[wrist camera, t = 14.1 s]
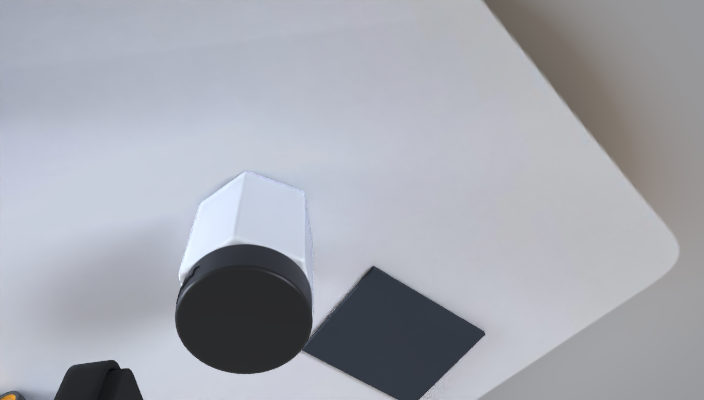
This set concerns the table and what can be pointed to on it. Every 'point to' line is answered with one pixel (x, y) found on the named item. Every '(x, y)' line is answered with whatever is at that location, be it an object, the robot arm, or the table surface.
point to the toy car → (12, 396)
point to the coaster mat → (392, 337)
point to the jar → (247, 277)
